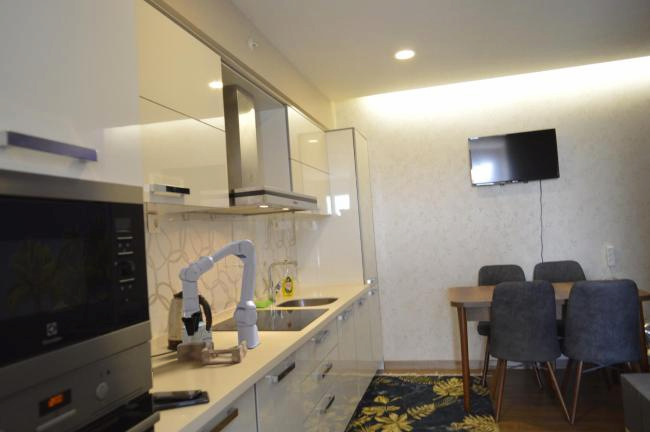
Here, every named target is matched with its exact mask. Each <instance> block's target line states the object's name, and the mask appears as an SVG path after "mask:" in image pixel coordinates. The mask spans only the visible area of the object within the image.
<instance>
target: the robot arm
mask: <svg viewBox="0 0 650 432" xmlns="http://www.w3.org/2000/svg"><path fill="white" fill-rule="evenodd" d="M230 255H233V256H235V257H237V258H239V259H240V261H241V262H242V263H243V269H242V270H243V271H242V278H241V287H240V297H239V301H238V303H236V307H235V310H234V311H233V315H232V317H233V320H234V322H235V323H236V329H237V342H238V344H237V346H235V347H234V348H238V347H239V345H240V344H241V343H242V342H243V341H244V340H247V349H254V348H256V347H257V346H258V345H260V344H261V341H259V330H258V326H257V325H256V323H257V320H258V313H257V306H256V304H255V302H254V297H255V288H256V287H255V286H256V276H257V267H258V265H257V264H258V257H257V253H256V245H255V244H254V242H253V241H251V240H250V239H247V238H245V239H240V240H239V239H234V240H233V241H231V242H229V243H227V244H226V245H224V246H223V247H221V248H220V249H219V250H216V251H215V252H214V253H213V254H211V255H210V256H208V255H201V256H199V257H198V259H197V260H196V261H194V262H190V263H189V266H183V267H182V268H181V269H180V271H179V274H178V278H179V280H180V281H181V289H182V304H183V305H182V306H183V309H181V310H180V313H183V314H184V316H182V317H181V321H182V323H183V324H184V326H185V328H186V331H187V334H188V336H194V332H197V331H198V328H199V323H200V320H201V318H202V317H201V316H202V313H203V312H202V311H200V310H201V308H200V303H199V302H200V300H199V288H198V287H199V286H198V280H199V279H200V277H201V276H203V275H204V274H205V273H208V272H209V271H210V270H211V269H214V265H215V264H216V263H217V262H219V261H221V260H222V259H224V258H226V257H228V256H230Z"/></svg>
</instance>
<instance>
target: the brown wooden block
mask: <svg viewBox="0 0 650 432" xmlns="http://www.w3.org/2000/svg"><path fill="white" fill-rule="evenodd" d="M205 347H206V342H195V343H183V342H182V343H179V344H178V345H177V346H176V354H177V362H191V361H192V362H193V361H202V358H201V351H202V350H203V349H204V348H205Z"/></svg>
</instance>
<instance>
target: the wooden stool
mask: <svg viewBox="0 0 650 432" xmlns="http://www.w3.org/2000/svg"><path fill="white" fill-rule="evenodd" d="M247 354H248V348H247V340H244V341H243V342H242V343H241V344H240V345H239V347H238V348H235V347H233V348H222V349H215V345H214V341H213V342H211V343H210V344H209V345H208V346H207V347H205V348H204V349H203V350H202V351H201V358H202V360H201V365H202V366H212V365H213V366H214V365H225V364H226V365H227V364H238V363H241V362H242V361H243V360H244V359H245V357H246V356H247Z"/></svg>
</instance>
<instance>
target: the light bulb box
mask: <svg viewBox="0 0 650 432" xmlns="http://www.w3.org/2000/svg"><path fill="white" fill-rule="evenodd" d="M206 322H207V321H199V328H198V331H197V332H194V336H188V334H187V331H186V328H185V325H184V326H181V327H180V328H181V338H182V339H181V340H182V343H195V342H206V347H207V346H208V345H209V344H210V343H211V342H214V341H213V329H212V328H213V327H212V326H211V328H210V331H207V330H206ZM208 332H209V333H208Z"/></svg>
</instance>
